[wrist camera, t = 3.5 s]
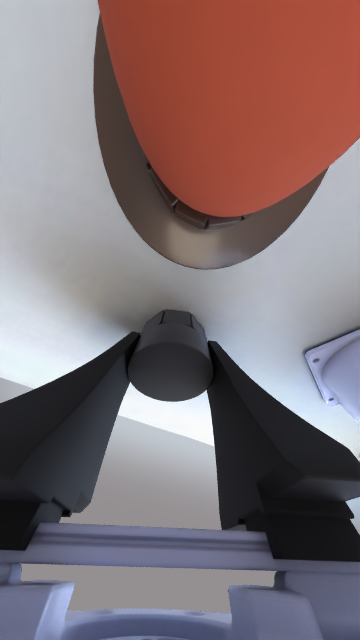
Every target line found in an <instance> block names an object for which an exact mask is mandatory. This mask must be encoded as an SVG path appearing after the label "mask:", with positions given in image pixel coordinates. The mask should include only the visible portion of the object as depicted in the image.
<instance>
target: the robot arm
mask: <svg viewBox="0 0 360 640" xmlns="http://www.w3.org/2000/svg"><path fill="white" fill-rule="evenodd" d="M139 337H140V333H138V332H131V333H130V334H128V335H127V336H126V337H124V338H123V339H122V340H120V341H119V342H118V343H116V344H115V345H114V346H112V347H111V348H110V349H108V350H107V351H105V352H104V353H102V354H101V355H99V356H98V357H96V358H95V359H93V360H91V361H90V362H88V363H86V364H85V365H83V366H81V367H79V368H77V369H76V370H74V371H72V372H70V373H68V374H66V375H64V376H62V377H60V378H58V379H56V380H54V381H52V382H50V383H47V384H45V385H43V386H41V387H39V388H36V389H34V390H32V391H29V392H27V393H25V394H22V395H20V396H18V397H15V398H13V399H10V400H8V401H5V402H3V403H0V640H360V535H359V533H358V532H357V530H356V529H355V527H354V525H353V524H352V522H351V520H350V519H353V518H354V514H353V513H352V511H351V510H350V508H349V507H348V505H347V503H346V502H345V501H348V500H351V499H354V498H357V497H360V462H359V461H358V460H357V458H356V457H355V456H354V455H353V453H352V452H351V451H350V450H349V449H348V448H347V447H345V446H344V445H342V444H341V443H339V442H337V441H336V440H334V439H333V438H331V437H330V436H328V435H326V434H325V433H323V432H322V431H320V430H319V429H317V428H315V427H314V426H312V425H311V424H309V423H308V422H306V421H305V420H304V419H302V418H301V417H299V416H298V415H296V414H295V413H293V412H292V411H291V410H289V409H288V408H287V407H285V406H284V405H283V404H281V403H280V402H279V401H277V400H276V399H275V398H273V397H272V396H271V395H270V394H268V393H267V392H266V391H265V390H264V389H262V388H261V387H260V386H259V385H258V384H257V383H255V382H254V381H253V380H252V379H251V378H250V377H249V376H248V375H247V374H246V373H245V372H244V371H243V370H242V369H241V368H240V367H239V366H238V365H237V364H236V363H235V362H234V361H233V360H232V359H231V358H230V357H229V355H228V354H227V353H226V352H225V351H224V350H223V349H222V347H221V346H220V345H219V344H218V343H217V342H216V341H208V349H209V353H210V356H211V360H212V364H213V368H214V377H213V381H212V383H211V385H210V386H209V388H208V389H207V394H208V399H209V403H210V409H211V416H212V424H213V434H214V444H215V455H216V466H217V480H218V496H219V514H220V521H221V527H222V530H207V529H184V528H162V527H139V526H116V525H94V524H93V525H92V524H71V523H59V521H60V519H61V517H70V516H71V515H72V513H73V512H74V513H80V512H82V511H83V510H84V509H85V508H86V507H87V506H88V505H89V503H90V502H91V499H92V495H93V492H94V488H95V485H96V482H97V478H98V475H99V471H100V468H101V464H102V461H103V458H104V455H105V451H106V448H107V444H108V441H109V438H110V435H111V432H112V429H113V426H114V422H115V420H116V417H117V414H118V411H119V408H120V405H121V402H122V400H123V397H124V395H125V393H126V390H127V388H128V386H129V384H130V380H129V377H128V372H127V367H128V363H129V361H130V358H131V356H132V354H133V352H134V350H135V348H136V345H137V343H138V341H139ZM305 357H306V360H307V362H308V364H309V367H310V369H311V371H312V374H313V376H314V378H315V380H316V383H317V385H318V387H319V390H320V392H321V394H322V397H323V399H324V401H325V403H326V404H327V405H328V406H335V405H338V404H340V405H341V406H342V407H343V408H344V409H345V410H346V411H347V412H348V413H349V414H350V415H351V416H352V417H353V418H355V419H356V420H357V421H358V422H359V423H360V329H359V330H357V331H354V332H352V333H350V334H347V335H345V336H342V337H340V338H338V339H335V340H333V341H331V342H328V343H326V344H324V345H321V346H319V347H317V348H314V349H312V350H310V351H308V352H307V353H306V354H305ZM19 563H26V564H60V565H61V564H62V565H94V566H95V565H96V566H128V567H164V568H197V569H198V568H199V569H231V570H267V571H269V570H270V571H277V572H276V573H275V578H274V579H275V583H274V586H273V587H266V586H258V585H236V586H229V589H228V592H229V599H230V607H231V613H230V614H229V613H216V612H202V611H187V610H172V609H104V610H81V611H67V608H68V605H69V602H70V598H71V595H72V592H73V589H74V582H69V581H58V580H35V581H21V580H20V578H21V572H22V567H21V564H19Z"/></svg>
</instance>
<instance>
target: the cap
mask: <svg viewBox="0 0 360 640" xmlns="http://www.w3.org/2000/svg"><path fill="white" fill-rule="evenodd" d="M127 372H128V377H129V380H130V381H131V383H132V385H133V386H134V387H135V388H136V389H137V390H138V391H140V392H141V393H143V394H144V395H146V396H148V397H151V398H153V399H157V400H161V401H169V402H177V401H184V400H189V399H192V398H194V397H197V396H199V395H200V394H202V393H203V392H204V391H206V390H207V389H208V388H209V386H210V385H211V383H212V381H213V377H214V368H213V364H212V360H211V356H210V353H209V349H208V343H207V339H206V335H205V332H204V329H203V327H202V326H201V325H200V324H199V322H198V321H197V320H196V319H195V317H194V316H193V315H192V314H190V315H189V312H181V311H173V310H166V311H164V310H163V311H162V312H160V313H159V314H157V315H156V316H155V317H153V318H152V319H151V320H149V321H148V322H147V323H146V325H145V327H144V329H143V331H142V333H141V335H140V337H139V341H138V343H137V345H136V348H135V350H134V352H133V354H132V356H131V358H130V361H129V363H128V367H127Z"/></svg>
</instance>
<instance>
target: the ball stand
mask: <svg viewBox="0 0 360 640" xmlns="http://www.w3.org/2000/svg"><path fill="white" fill-rule="evenodd" d="M94 105H95V119H96V126H97V132H98V139H99V145H100V149H101V153H102V158H103V162H104V166H105V169H106V172H107V175H108V178H109V181H110V184H111V187H112V189H113V191H114V194H115V196H116V198H117V201H118V203H119V205H120V207H121V208H122V210H123V212H124V214H125V216H126V217H127V219H128V220H129V222H130V223H131V225H132V226H133V228H134V229H135V230H136V232H137V233H138V234H139V235H140V236H141V237H142V239H143V240H144V241H145V242H146V243H147V244H148V245H149V246H151V247H152V248H153V249H154V250H155V251H157V252H158V253H159V254H161V255H162V256H164V257H165V258H167V259H169V260H171V261H173V262H175V263H177V264H180V265H183V266H186V267H190V268H195V269H219V268H224V267H229V266H232V265H235V264H238V263H241V262H243V261H245V260H247V259H249V258H251V257H253V256H254V255H256V254H258V253H259V252H261V251H262V250H264V249H265V248H266V247H268V246H269V245H270V244H272V243H273V242H274V241H275V240H276V239H277V238H278V237H280V236H281V235H282V234H283V233H284V232H285V231H286V230H287V229H288V228H289V227H290V225H291V224H292V223H293V222H294V221H295V220H296V219H297V217H298V216H299V215H300V214H301V212H302V211H303V209H304V208H305V207H306V205H307V204H308V203H309V201H310V200H311V198H312V196H313V195H314V193H315V192H316V190H317V188H318V187H319V185H320V184H321V182H322V180H323V178H324V176H325V174H326V172H327V170H328V168H329V166H328V167H327V168H326V169H325V170H324V171H322V172H321V173H320V174H319V175H318V176H316V177H315V178H314V179H313V180H312V181H310V182H309V183H307V184H306V185H304V186H303V187H302V188H300V189H299V190H297V191H296V192H294V193H293V194H291V195H289V196H288V197H286V198H284V199H283V200H281V201H279V202H277V203H275V204H273V205H272V206H269V207H267V208H264V209H262V210H259V211H257V212H253V213H250V214H246V215H242V216H235V217H218V216H212V215H208V214H204V213H201V212H199V211H197V210H195V209H192V208H191V207H189V206H188V205H186V204H185V203H183V202H182V201H181V200H180V199H178V198H177V197H176V196H175V195H174V194H173V193H172V192H171V191H170V190H169V189H168V188H167V187H166V186H165V184H164V183H163V182H162V181H161V179H160V178H159V176H158V175H157V174H156V172H155V171H154V169H153V168H152V166H151V164H150V162H149V160H148V158H147V157H146V155H145V153H144V151H143V149H142V147H141V145H140V143H139V141H138V139H137V137H136V134H135V132H134V129H133V127H132V125H131V122H130V120H129V117H128V114H127V111H126V108H125V105H124V102H123V98H122V95H121V92H120V89H119V86H118V83H117V80H116V77H115V74H114V70H113V66H112V62H111V58H110V53H109V49H108V45H107V41H106V37H105V32H104V28H103V23H102V19H101V14H100V16H99V21H98V26H97V35H96V45H95V55H94Z"/></svg>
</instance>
